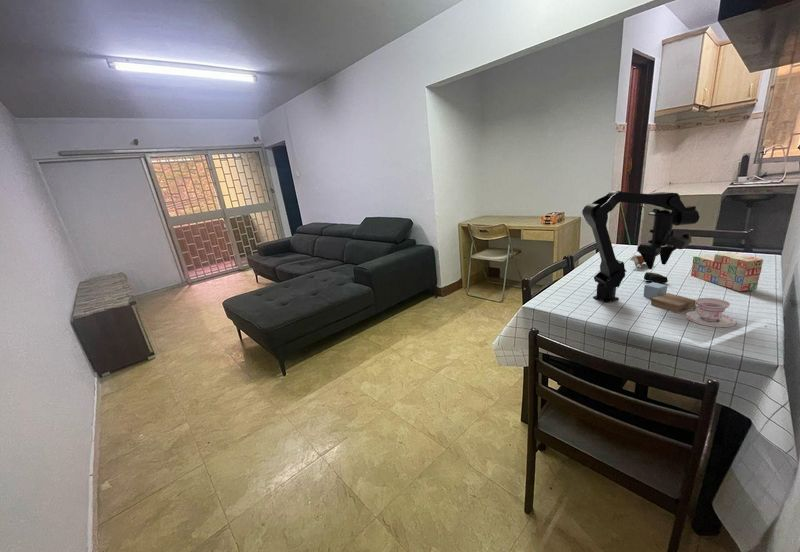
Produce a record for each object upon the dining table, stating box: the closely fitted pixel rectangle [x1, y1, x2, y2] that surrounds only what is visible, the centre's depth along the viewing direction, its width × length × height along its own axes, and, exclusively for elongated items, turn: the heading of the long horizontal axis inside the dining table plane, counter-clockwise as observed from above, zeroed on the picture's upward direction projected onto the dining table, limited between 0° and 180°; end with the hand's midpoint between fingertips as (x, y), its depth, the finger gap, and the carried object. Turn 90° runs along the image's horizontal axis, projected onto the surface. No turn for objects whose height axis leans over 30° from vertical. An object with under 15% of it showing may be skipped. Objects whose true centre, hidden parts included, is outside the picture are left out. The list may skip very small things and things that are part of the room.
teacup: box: [685, 297, 737, 328], centre depth 103 cm, size 12×12×6 cm
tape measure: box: [643, 271, 669, 284], centre depth 137 cm, size 7×7×4 cm
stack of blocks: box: [690, 251, 764, 292], centre depth 128 cm, size 21×6×12 cm, turn 1°
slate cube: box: [643, 282, 668, 300], centre depth 124 cm, size 5×5×5 cm
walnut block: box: [650, 292, 697, 313], centre depth 115 cm, size 9×9×3 cm
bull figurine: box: [629, 253, 645, 269], centre depth 156 cm, size 4×13×8 cm, turn 115°
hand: (657, 266), depth 122 cm, fingers open, 9 cm apart
